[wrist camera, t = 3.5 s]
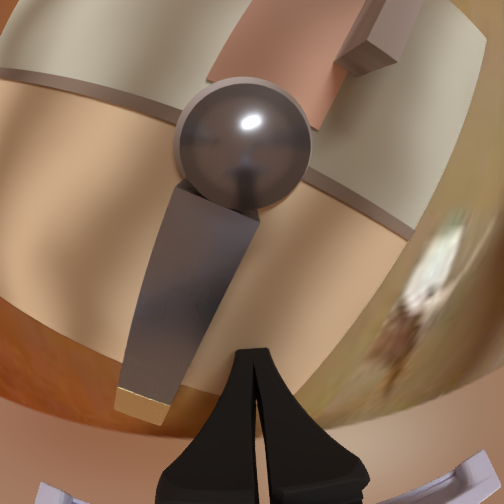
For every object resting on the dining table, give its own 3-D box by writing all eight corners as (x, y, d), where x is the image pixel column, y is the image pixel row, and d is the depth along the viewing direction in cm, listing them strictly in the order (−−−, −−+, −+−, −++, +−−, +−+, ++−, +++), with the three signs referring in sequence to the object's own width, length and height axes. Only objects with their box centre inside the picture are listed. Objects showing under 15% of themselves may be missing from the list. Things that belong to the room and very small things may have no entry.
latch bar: (220, 85, 7) (213, 64, 5) (304, 123, 8) (331, 119, 5) (120, 372, 12) (105, 413, 9) (173, 392, 12) (165, 434, 10)
